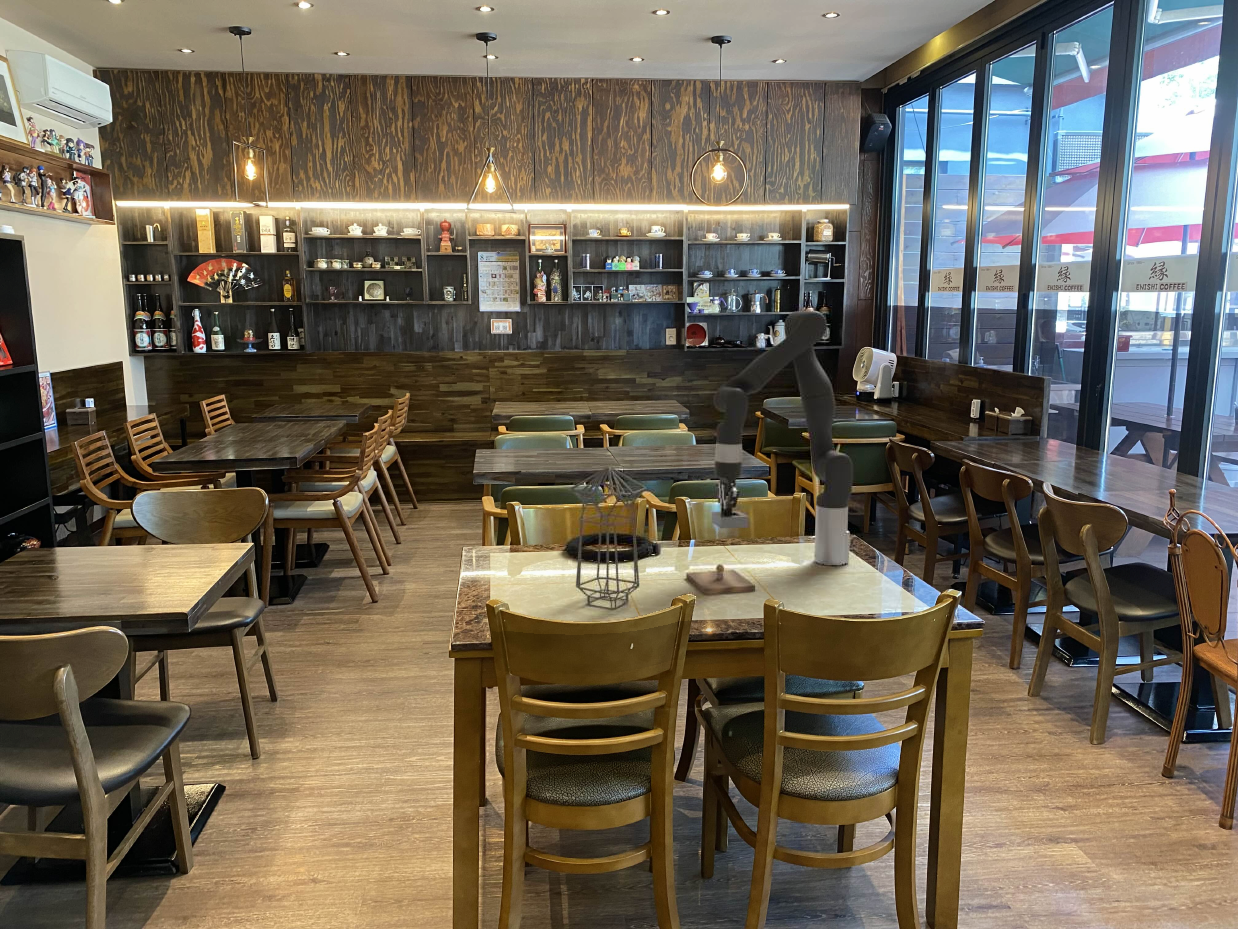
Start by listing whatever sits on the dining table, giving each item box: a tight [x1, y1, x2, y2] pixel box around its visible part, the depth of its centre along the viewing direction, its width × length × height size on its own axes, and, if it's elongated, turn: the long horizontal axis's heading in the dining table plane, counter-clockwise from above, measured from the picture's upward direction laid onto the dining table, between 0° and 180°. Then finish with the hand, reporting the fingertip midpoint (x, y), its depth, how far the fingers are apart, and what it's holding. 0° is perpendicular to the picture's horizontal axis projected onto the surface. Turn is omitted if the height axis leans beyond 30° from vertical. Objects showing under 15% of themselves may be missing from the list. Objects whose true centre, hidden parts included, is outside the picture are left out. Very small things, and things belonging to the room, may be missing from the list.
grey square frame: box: [711, 510, 750, 529], centre depth 246 cm, size 8×8×3 cm
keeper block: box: [685, 564, 756, 595], centre depth 242 cm, size 14×16×6 cm
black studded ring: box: [564, 532, 662, 562], centre depth 278 cm, size 28×4×30 cm
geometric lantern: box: [568, 466, 648, 610], centre depth 224 cm, size 16×16×35 cm
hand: (726, 520), depth 249 cm, fingers closed on grey square frame
